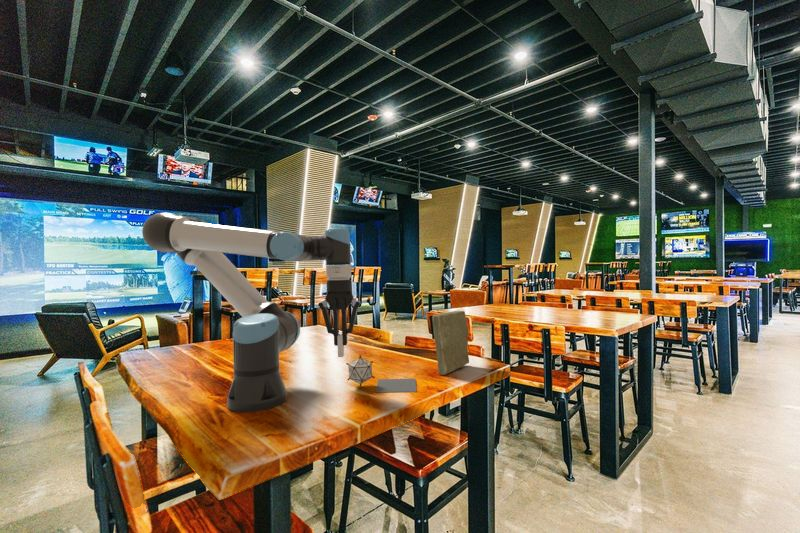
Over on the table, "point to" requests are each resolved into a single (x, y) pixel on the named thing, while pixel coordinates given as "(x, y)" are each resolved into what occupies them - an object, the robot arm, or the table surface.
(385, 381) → the mat
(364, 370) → the game die
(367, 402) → the table surface
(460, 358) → the decorative tile
